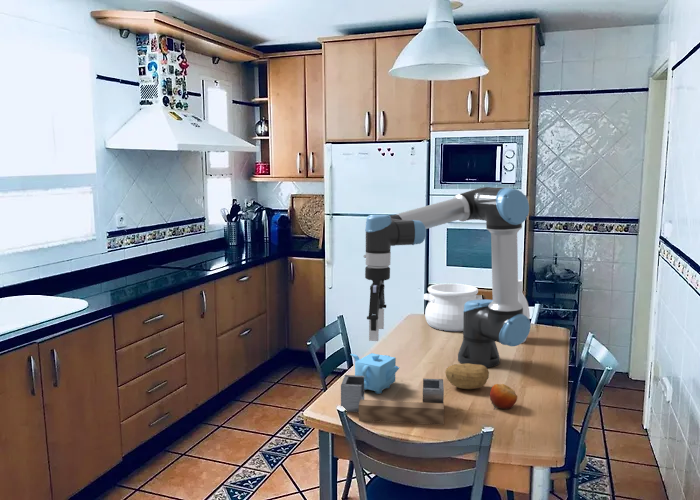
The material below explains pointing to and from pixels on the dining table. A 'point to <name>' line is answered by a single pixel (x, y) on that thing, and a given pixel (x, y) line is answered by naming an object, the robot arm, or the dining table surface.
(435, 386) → the bracket
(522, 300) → the bottle
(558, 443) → the dining table surface
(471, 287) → the pot
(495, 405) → the fruit
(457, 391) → the dining table surface
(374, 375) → the teapot
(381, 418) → the rail
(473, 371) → the potato
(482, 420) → the dining table surface
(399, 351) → the dining table surface
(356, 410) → the bracket
